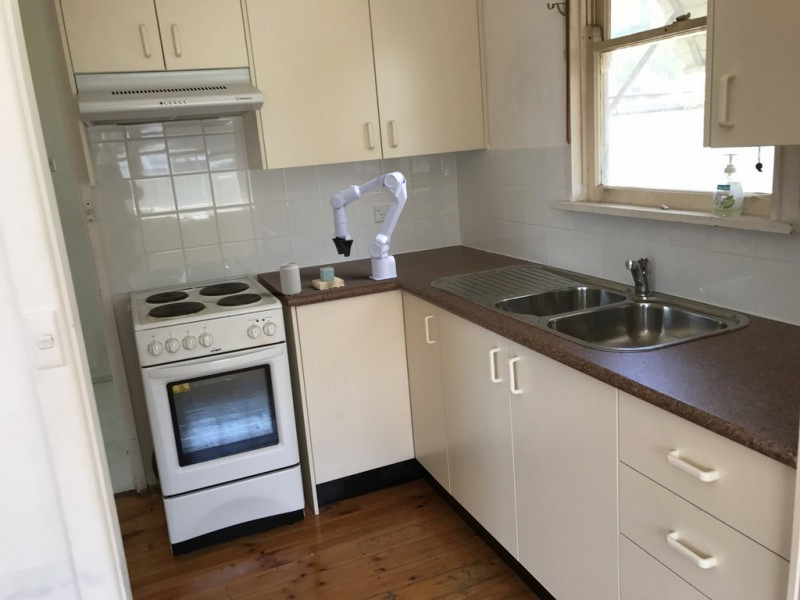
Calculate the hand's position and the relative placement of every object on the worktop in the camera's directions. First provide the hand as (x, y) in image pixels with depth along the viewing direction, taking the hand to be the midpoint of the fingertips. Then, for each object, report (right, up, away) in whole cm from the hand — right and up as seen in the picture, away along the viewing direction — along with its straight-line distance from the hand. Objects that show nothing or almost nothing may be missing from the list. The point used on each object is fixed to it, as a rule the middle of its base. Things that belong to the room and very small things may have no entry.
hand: (344, 255), depth 277 cm
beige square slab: (-5, -14, -10) cm, 18 cm away
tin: (-6, -11, -11) cm, 16 cm away
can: (-19, -16, -19) cm, 31 cm away
